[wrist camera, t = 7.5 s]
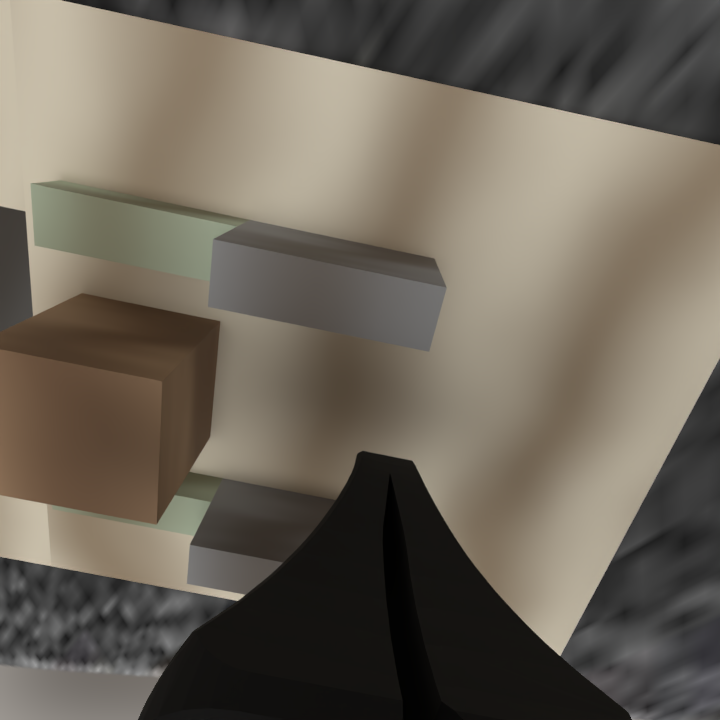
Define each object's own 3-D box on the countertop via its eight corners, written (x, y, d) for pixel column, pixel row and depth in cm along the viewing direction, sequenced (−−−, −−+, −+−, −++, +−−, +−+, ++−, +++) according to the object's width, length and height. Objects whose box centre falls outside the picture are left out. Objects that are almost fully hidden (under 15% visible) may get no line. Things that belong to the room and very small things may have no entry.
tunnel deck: (763, 165, 14) (952, 173, 9) (542, 615, 21) (587, 747, 16) (-225, -53, 13) (-562, -162, 8) (-103, 493, 20) (-249, 596, 15)
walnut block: (220, 321, 14) (162, 381, 11) (210, 437, 16) (156, 524, 12) (82, 293, 14) (-26, 344, 10) (85, 412, 16) (-7, 494, 12)
